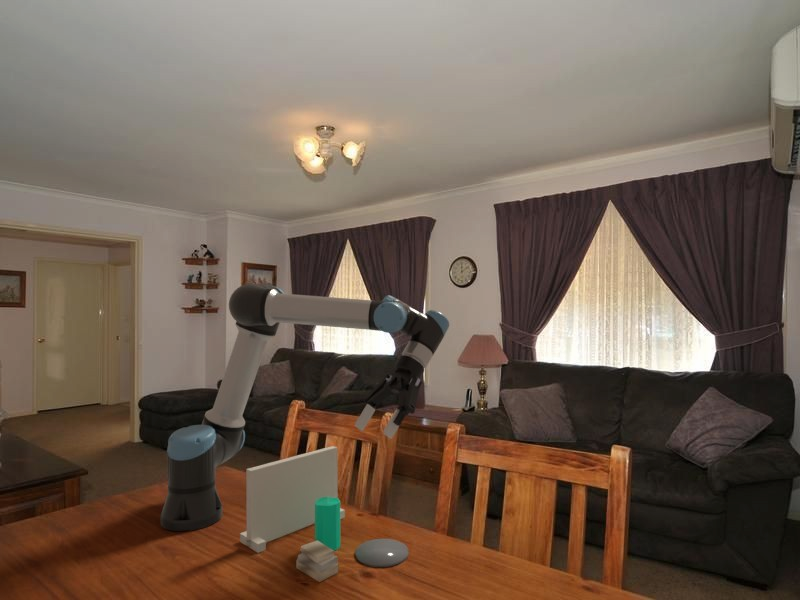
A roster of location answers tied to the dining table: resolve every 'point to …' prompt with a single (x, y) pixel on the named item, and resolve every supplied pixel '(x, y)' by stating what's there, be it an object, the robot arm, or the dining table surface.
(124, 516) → the dining table surface
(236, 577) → the dining table surface
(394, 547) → the coaster
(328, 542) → the candle
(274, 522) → the standing panel with feet
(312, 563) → the offcut stack
